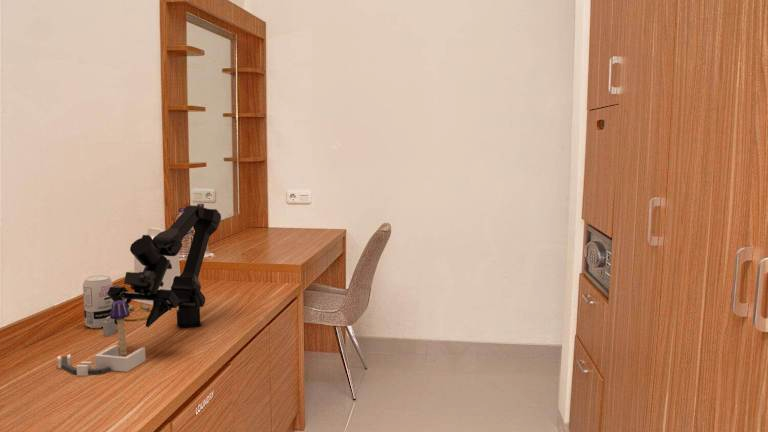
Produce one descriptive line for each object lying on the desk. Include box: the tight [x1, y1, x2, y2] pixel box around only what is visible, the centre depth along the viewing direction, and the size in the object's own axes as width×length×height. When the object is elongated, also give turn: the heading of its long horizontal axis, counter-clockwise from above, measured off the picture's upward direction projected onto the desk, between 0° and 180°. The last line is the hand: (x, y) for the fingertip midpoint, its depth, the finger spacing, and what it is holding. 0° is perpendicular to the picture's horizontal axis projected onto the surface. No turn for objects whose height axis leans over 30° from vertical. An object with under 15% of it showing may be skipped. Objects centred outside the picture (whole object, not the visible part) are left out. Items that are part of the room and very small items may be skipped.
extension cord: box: [124, 303, 152, 322], centre depth 199 cm, size 12×16×2 cm
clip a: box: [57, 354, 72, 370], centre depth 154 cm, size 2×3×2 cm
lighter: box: [102, 316, 117, 337], centre depth 180 cm, size 7×2×8 cm, turn 171°
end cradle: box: [94, 344, 147, 373], centre depth 155 cm, size 8×9×4 cm
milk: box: [133, 227, 181, 306], centre depth 215 cm, size 12×12×26 cm
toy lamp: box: [110, 300, 131, 357], centre depth 155 cm, size 5×5×17 cm
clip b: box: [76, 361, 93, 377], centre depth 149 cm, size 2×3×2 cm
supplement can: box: [82, 275, 114, 329], centre depth 186 cm, size 8×8×15 cm
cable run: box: [61, 355, 112, 375], centre depth 152 cm, size 6×17×1 cm, turn 64°
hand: (131, 325), depth 159 cm, fingers open, 9 cm apart
